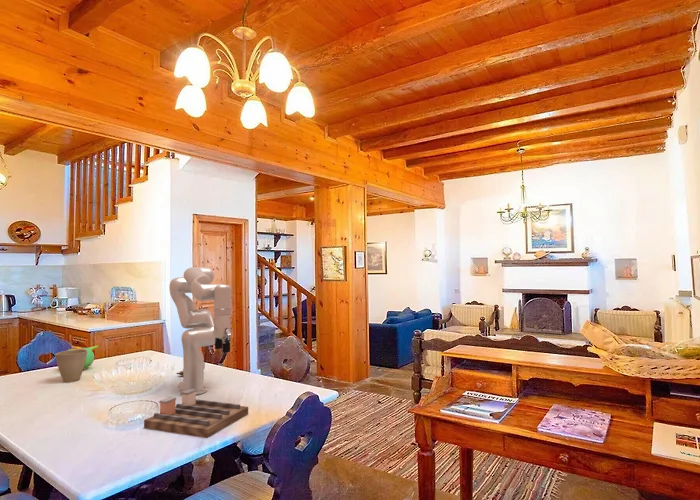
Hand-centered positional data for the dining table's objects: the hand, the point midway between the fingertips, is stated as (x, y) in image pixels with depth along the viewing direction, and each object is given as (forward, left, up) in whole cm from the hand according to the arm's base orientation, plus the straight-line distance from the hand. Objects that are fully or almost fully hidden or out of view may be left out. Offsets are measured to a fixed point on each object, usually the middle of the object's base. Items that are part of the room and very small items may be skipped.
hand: (222, 350), depth 186 cm
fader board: (+2, -18, -25) cm, 30 cm away
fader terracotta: (-8, -24, -22) cm, 33 cm away
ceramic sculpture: (-53, +42, -25) cm, 72 cm away
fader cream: (-8, -12, -22) cm, 26 cm away
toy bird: (-130, +30, -25) cm, 136 cm away
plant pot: (-109, +10, -25) cm, 113 cm away
